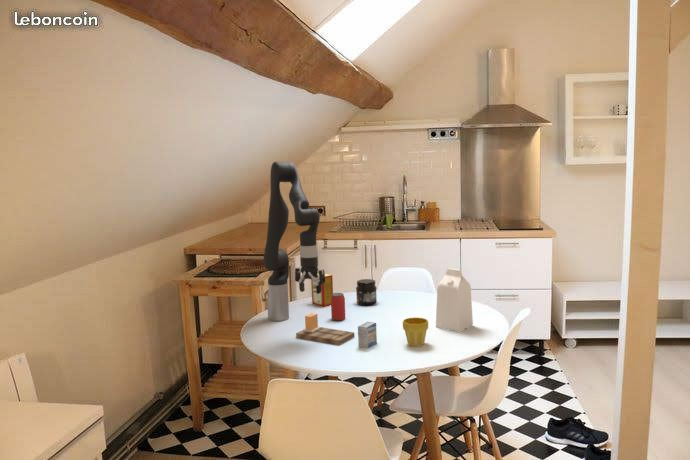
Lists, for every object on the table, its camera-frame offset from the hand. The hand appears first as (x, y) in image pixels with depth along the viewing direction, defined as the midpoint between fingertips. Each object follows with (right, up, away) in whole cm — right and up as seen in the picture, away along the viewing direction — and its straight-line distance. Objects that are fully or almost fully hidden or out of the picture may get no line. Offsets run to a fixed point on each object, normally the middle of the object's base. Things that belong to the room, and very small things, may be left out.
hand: (310, 292), depth 262 cm
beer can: (+12, -15, +26) cm, 32 cm away
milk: (+64, -16, +9) cm, 66 cm away
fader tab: (0, -17, +2) cm, 17 cm away
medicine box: (+24, -20, -12) cm, 34 cm away
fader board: (+6, -19, -1) cm, 20 cm away
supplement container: (+26, -11, +52) cm, 59 cm away
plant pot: (+44, -20, -13) cm, 50 cm away
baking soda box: (+3, -12, +54) cm, 55 cm away
